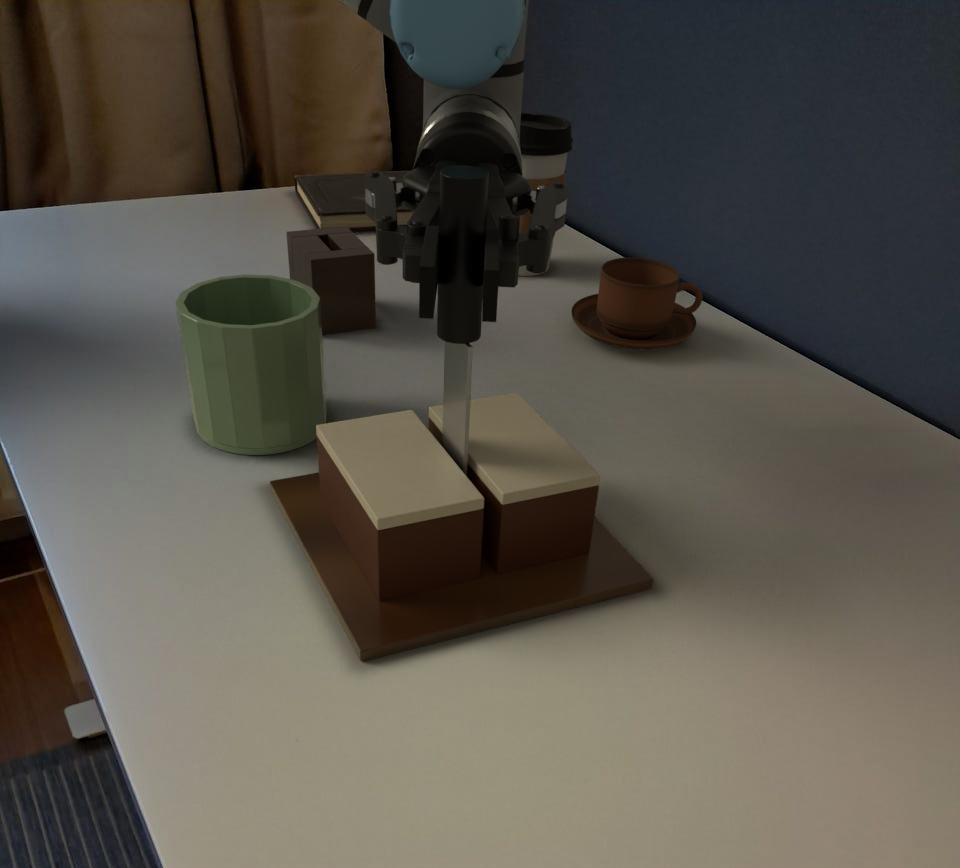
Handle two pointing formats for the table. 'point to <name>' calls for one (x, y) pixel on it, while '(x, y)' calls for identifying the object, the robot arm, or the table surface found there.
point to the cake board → (455, 605)
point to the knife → (460, 295)
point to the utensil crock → (253, 362)
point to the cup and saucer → (637, 306)
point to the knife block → (336, 276)
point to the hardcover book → (342, 200)
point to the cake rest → (400, 503)
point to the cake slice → (526, 484)
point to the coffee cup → (542, 158)
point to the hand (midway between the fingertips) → (458, 294)
